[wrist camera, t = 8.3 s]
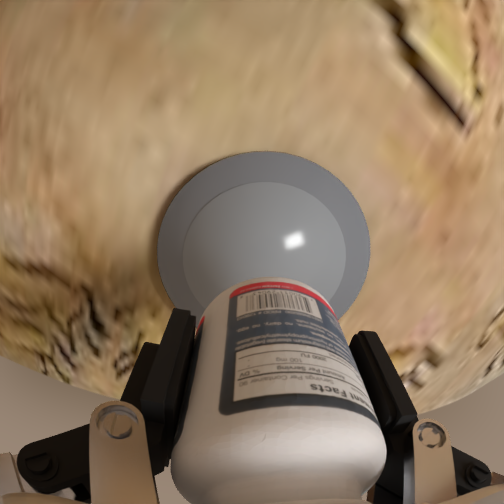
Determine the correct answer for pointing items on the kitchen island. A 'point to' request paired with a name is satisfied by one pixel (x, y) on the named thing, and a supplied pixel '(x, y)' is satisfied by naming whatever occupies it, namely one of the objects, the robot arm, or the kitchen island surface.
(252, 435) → the pill bottle
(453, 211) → the kitchen island surface
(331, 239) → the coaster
